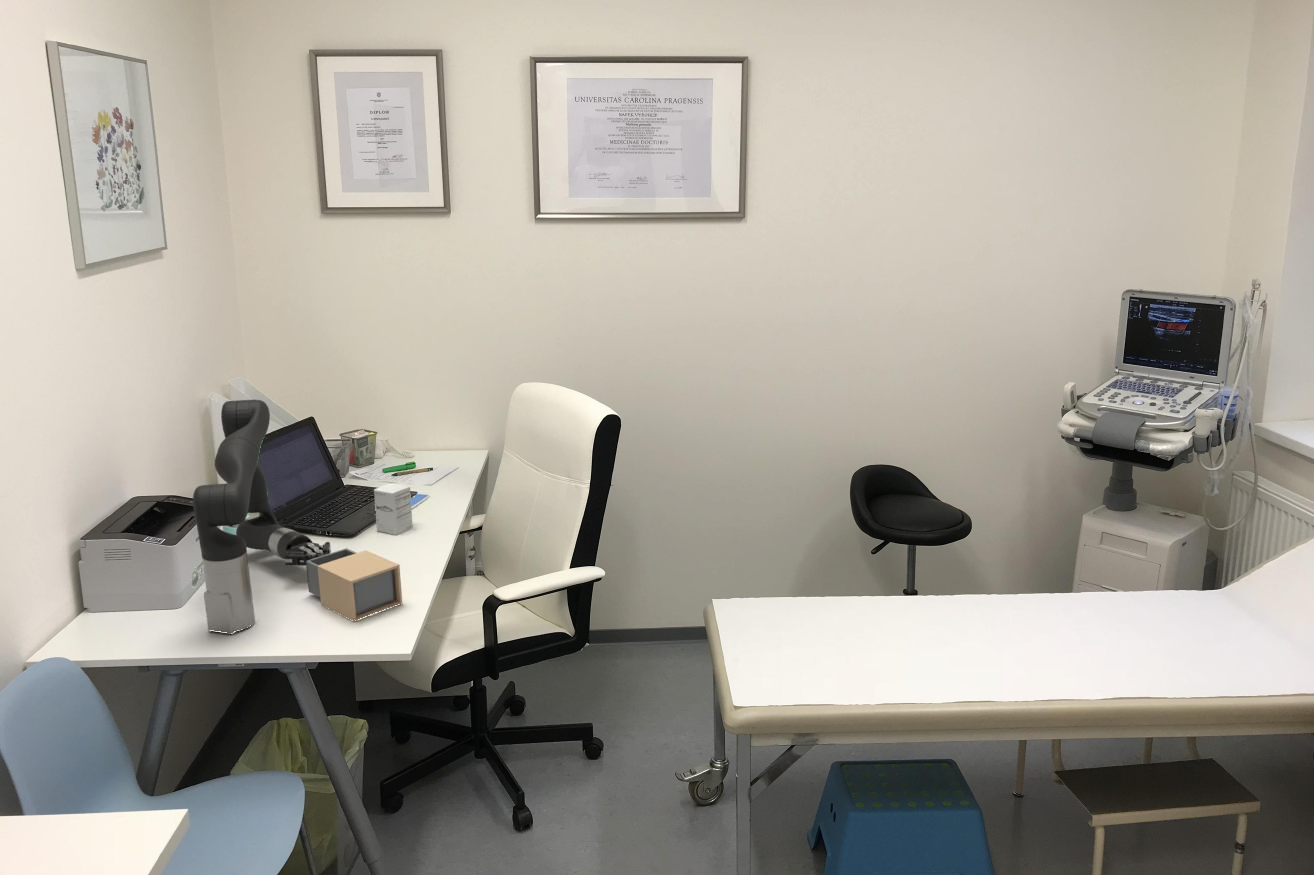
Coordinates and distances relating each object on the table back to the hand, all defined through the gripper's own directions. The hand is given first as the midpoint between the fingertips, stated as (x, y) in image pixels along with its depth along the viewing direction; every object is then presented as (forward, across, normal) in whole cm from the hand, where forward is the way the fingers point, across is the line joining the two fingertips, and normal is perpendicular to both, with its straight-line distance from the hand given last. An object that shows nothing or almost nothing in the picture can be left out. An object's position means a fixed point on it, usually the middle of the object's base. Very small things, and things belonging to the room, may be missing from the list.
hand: (327, 562), depth 247 cm
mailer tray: (+10, 0, +6) cm, 12 cm away
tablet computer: (-41, +48, +8) cm, 64 cm away
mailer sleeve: (+14, 0, +7) cm, 16 cm away
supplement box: (-23, +35, +7) cm, 43 cm away
